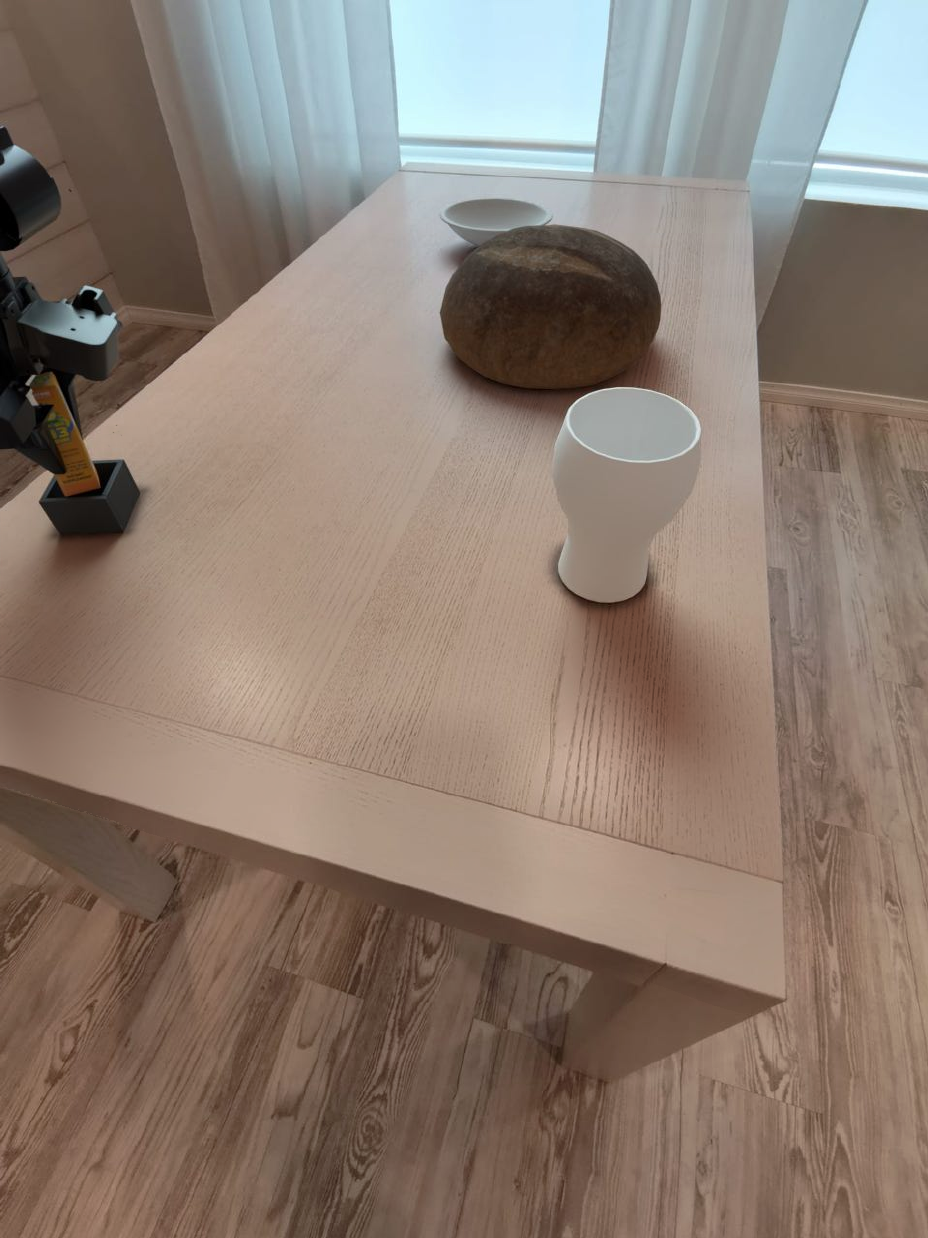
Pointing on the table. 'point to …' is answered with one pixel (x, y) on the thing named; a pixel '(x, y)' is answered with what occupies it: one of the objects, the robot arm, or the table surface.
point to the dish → (492, 217)
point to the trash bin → (93, 502)
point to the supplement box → (66, 438)
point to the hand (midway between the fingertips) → (69, 458)
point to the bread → (551, 307)
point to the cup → (621, 485)
